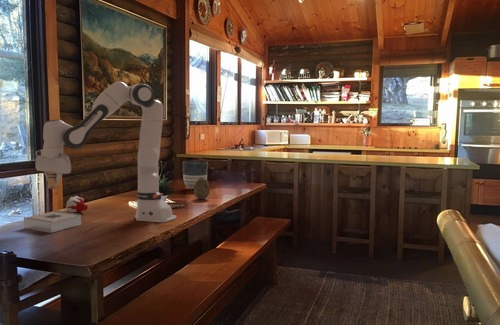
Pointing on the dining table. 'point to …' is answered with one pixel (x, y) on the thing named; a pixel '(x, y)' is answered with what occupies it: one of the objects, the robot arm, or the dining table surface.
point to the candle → (76, 205)
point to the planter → (194, 172)
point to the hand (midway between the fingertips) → (53, 181)
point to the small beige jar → (52, 180)
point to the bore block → (52, 221)
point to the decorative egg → (201, 188)
